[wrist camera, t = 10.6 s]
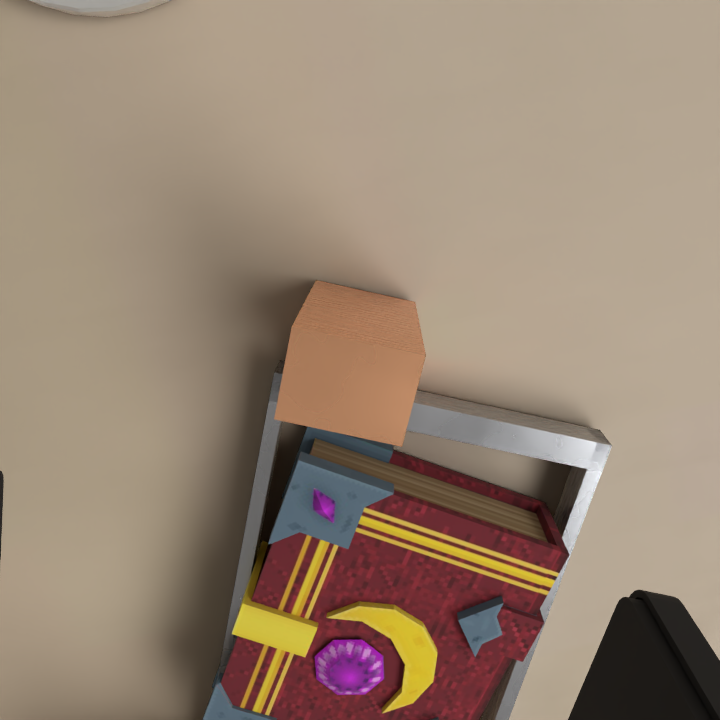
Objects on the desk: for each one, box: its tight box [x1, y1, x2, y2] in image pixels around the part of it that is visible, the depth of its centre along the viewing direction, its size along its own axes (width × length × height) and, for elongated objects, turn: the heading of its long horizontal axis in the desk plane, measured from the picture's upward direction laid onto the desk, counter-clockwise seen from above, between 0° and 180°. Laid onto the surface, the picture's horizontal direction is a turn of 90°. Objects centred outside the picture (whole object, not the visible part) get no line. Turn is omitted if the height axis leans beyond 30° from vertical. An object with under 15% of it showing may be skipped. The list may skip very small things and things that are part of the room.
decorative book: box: [202, 426, 569, 720], centre depth 28 cm, size 11×16×5 cm
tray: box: [218, 280, 612, 720], centre depth 26 cm, size 24×14×7 cm, turn 168°
